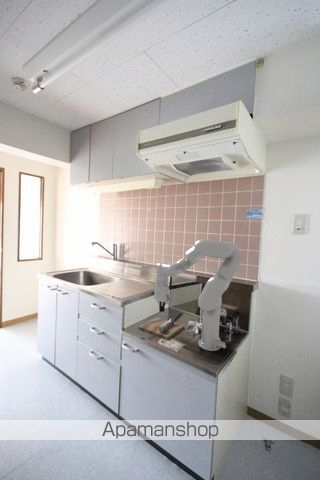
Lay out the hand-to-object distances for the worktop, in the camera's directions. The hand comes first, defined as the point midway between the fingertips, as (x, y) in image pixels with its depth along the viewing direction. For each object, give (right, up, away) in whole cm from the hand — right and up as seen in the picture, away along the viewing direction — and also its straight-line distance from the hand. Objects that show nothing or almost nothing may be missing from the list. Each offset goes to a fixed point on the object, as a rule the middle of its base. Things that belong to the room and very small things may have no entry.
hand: (161, 311), depth 141 cm
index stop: (+1, -13, -4) cm, 13 cm away
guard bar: (+3, -11, +3) cm, 12 cm away
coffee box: (+31, -13, +11) cm, 35 cm away
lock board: (0, -12, +4) cm, 13 cm away
